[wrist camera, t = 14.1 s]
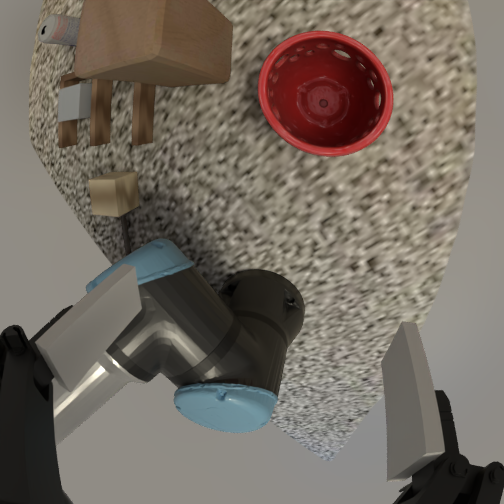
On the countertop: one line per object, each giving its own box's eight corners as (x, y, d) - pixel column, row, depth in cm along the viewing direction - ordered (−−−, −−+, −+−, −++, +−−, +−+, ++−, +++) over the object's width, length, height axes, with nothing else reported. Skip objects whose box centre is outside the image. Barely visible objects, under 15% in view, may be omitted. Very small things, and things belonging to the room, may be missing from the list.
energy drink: (86, 27, 32) (40, 19, 22) (106, 19, 31) (59, 8, 21) (82, 50, 34) (34, 46, 24) (101, 44, 34) (52, 37, 23)
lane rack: (152, 142, 40) (138, 145, 37) (73, 144, 43) (58, 148, 40) (158, 58, 34) (144, 55, 30) (75, 76, 37) (61, 76, 34)
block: (102, 115, 40) (78, 118, 35) (80, 118, 41) (57, 122, 36) (104, 84, 37) (80, 83, 32) (82, 89, 38) (59, 89, 33)
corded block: (148, 277, 52) (116, 309, 42) (124, 271, 53) (91, 301, 43) (137, 171, 43) (92, 188, 33) (111, 171, 44) (67, 187, 34)
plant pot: (352, 164, 35) (366, 180, 24) (262, 127, 36) (237, 129, 25) (385, 80, 29) (411, 63, 18) (293, 44, 30) (280, 13, 19)
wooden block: (235, 22, 29) (165, -39, 12) (232, 83, 34) (153, 56, 16) (172, 31, 31) (81, -4, 14) (169, 88, 36) (69, 80, 18)
